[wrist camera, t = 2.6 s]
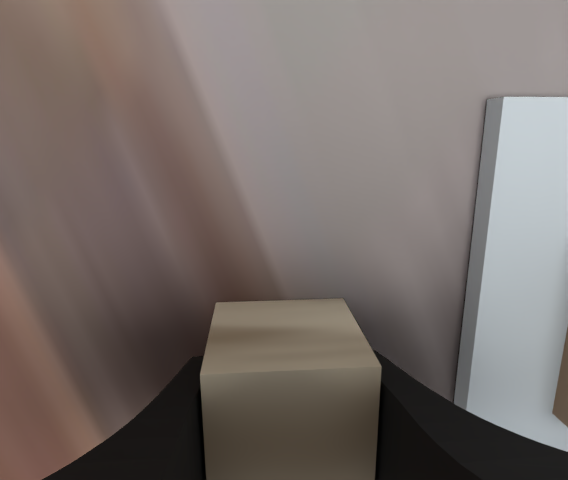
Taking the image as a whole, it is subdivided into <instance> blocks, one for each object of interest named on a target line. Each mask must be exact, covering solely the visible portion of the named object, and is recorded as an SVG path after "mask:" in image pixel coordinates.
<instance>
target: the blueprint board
mask: <svg viewBox="0 0 568 480" xmlns="http://www.w3.org/2000/svg"><path fill="white" fill-rule="evenodd" d="M454 404H455V405H457V406H459V407H461V408H463V409H465V410H466V411H468V412H470V413H472V414H474V415H476V416H478V417H480V418H482V419H484V420H486V421H489V422H491V423H493V424H495V425H497V426H500V427H502V428H504V429H507V430H509V431H512V432H514V433H516V434H519V435H521V436H524V437H526V438H529V439H532V440H534V441H537V442H540V443H543V444H545V445H548V446H551V447H554V448H557V449H560V450H563V451H566V452H568V97H500V98H494V99H487V107H486V116H485V125H484V134H483V143H482V152H481V161H480V170H479V179H478V188H477V197H476V206H475V215H474V224H473V233H472V242H471V251H470V260H469V269H468V278H467V288H466V297H465V306H464V315H463V324H462V333H461V342H460V351H459V360H458V369H457V378H456V387H455V396H454Z"/></svg>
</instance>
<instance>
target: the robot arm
mask: <svg viewBox="0 0 568 480" xmlns="http://www.w3.org/2000/svg"><path fill="white" fill-rule="evenodd" d="M372 350H373V349H372ZM373 352H374V354H375V356H376V357H377V359H378V361H379V363H380V365H381V366H382V367H381V384H380V401H379V417H378V434H377V451H376V467H375V480H568V452H566V451H563V450H560V449H557V448H554V447H551V446H548V445H545V444H543V443H540V442H537V441H534V440H532V439H529V438H526V437H524V436H521V435H519V434H516V433H514V432H512V431H509V430H507V429H504V428H502V427H500V426H497V425H495V424H493V423H491V422H489V421H486V420H484V419H482V418H480V417H478V416H476V415H474V414H472V413H470V412H468V411H466V410H465V409H463V408H461V407H459V406H457V405H455V404H453V403H452V402H450V401H448V400H447V399H445V398H443V397H442V396H440V395H438V394H437V393H435V392H434V391H432V390H430V389H429V388H427V387H426V386H424V385H423V384H421V383H420V382H418V381H417V380H415V379H414V378H412V377H411V376H410V375H408V374H407V373H405V372H404V371H403V370H401V369H400V368H398V367H397V366H396V365H394V364H393V363H392V362H390V361H389V360H387V359H386V358H385V357H383V356H382V355H381V354H379V353H378V352H376V351H375V350H373ZM203 359H204V356H199V357H192V358H191V359H190V360H189V361H188V362H187V363H186V364H185V366H184V367H183V368H182V369H181V370H180V372H179V373H178V374H177V375H176V376H175V377H174V378H173V380H172V381H171V382H170V383H169V384H168V385H167V386H166V387H165V388H164V389H163V390H162V391H161V393H160V394H159V395H158V396H157V397H156V398H155V399H154V400H153V401H152V402H151V403H150V404H149V405H148V406H147V407H145V408H144V409H143V410H142V411H141V412H140V413H139V414H138V415H137V416H136V417H135V418H134V419H132V420H131V421H130V422H129V423H128V424H126V425H125V426H124V427H123V428H121V429H120V430H119V431H117V432H116V433H115V434H114V435H112V436H111V437H110V438H108V439H107V440H105V441H104V442H103V443H101V444H100V445H98V446H97V447H95V448H93V449H92V450H90V451H89V452H87V453H86V454H84V455H83V456H81V457H80V458H78V459H77V460H75V461H74V462H72V463H70V464H69V465H67V466H65V467H64V468H62V469H60V470H58V471H57V472H55V473H53V474H51V475H50V476H48V477H46V478H44V479H42V480H206V466H205V450H204V433H203V417H202V401H201V384H200V372H201V368H202V363H203Z"/></svg>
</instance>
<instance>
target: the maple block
mask: <svg viewBox="0 0 568 480" xmlns="http://www.w3.org/2000/svg"><path fill="white" fill-rule="evenodd" d="M381 367H382V366H381V365H380V363H379V361H378V359H377V357H376V356H375V354H374V352H373V350H372V349H371V347H370V345H369V343H368V342H367V340H366V338H365V336H364V334H363V333H362V331H361V329H360V327H359V326H358V324H357V322H356V320H355V319H354V317H353V315H352V313H351V311H350V310H349V308H348V306H347V304H346V303H345V301H344V299H343V298H335V299H305V300H275V301H244V302H216V304H215V309H214V313H213V318H212V322H211V327H210V331H209V336H208V340H207V345H206V349H205V354H204V359H203V363H202V368H201V372H200V384H201V401H202V417H203V433H204V450H205V466H206V480H375V467H376V451H377V434H378V417H379V401H380V384H381Z"/></svg>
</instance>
